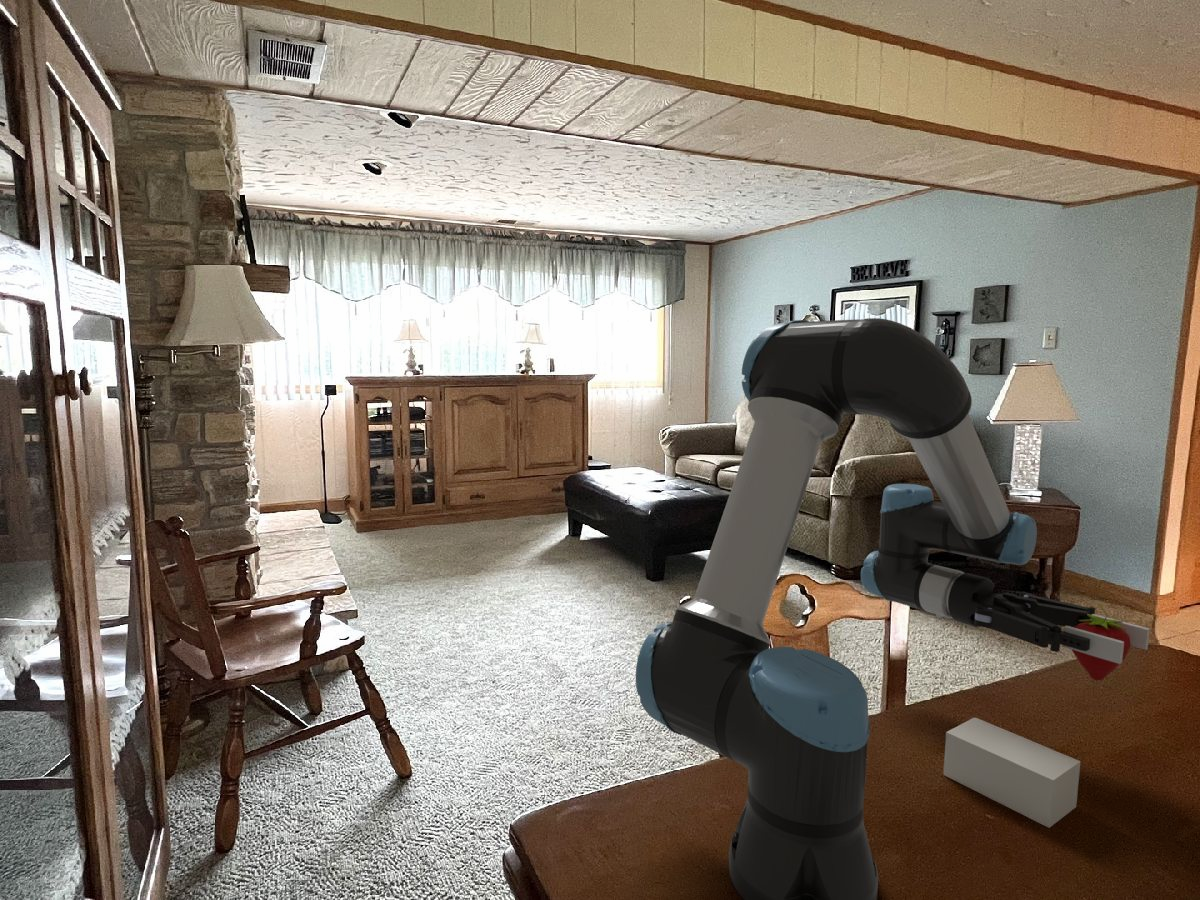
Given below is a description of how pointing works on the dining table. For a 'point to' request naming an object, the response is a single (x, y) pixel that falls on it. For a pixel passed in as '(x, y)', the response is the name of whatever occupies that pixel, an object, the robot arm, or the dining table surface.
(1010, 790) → the block
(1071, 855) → the dining table surface
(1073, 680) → the dining table surface
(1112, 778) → the dining table surface
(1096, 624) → the strawberry
